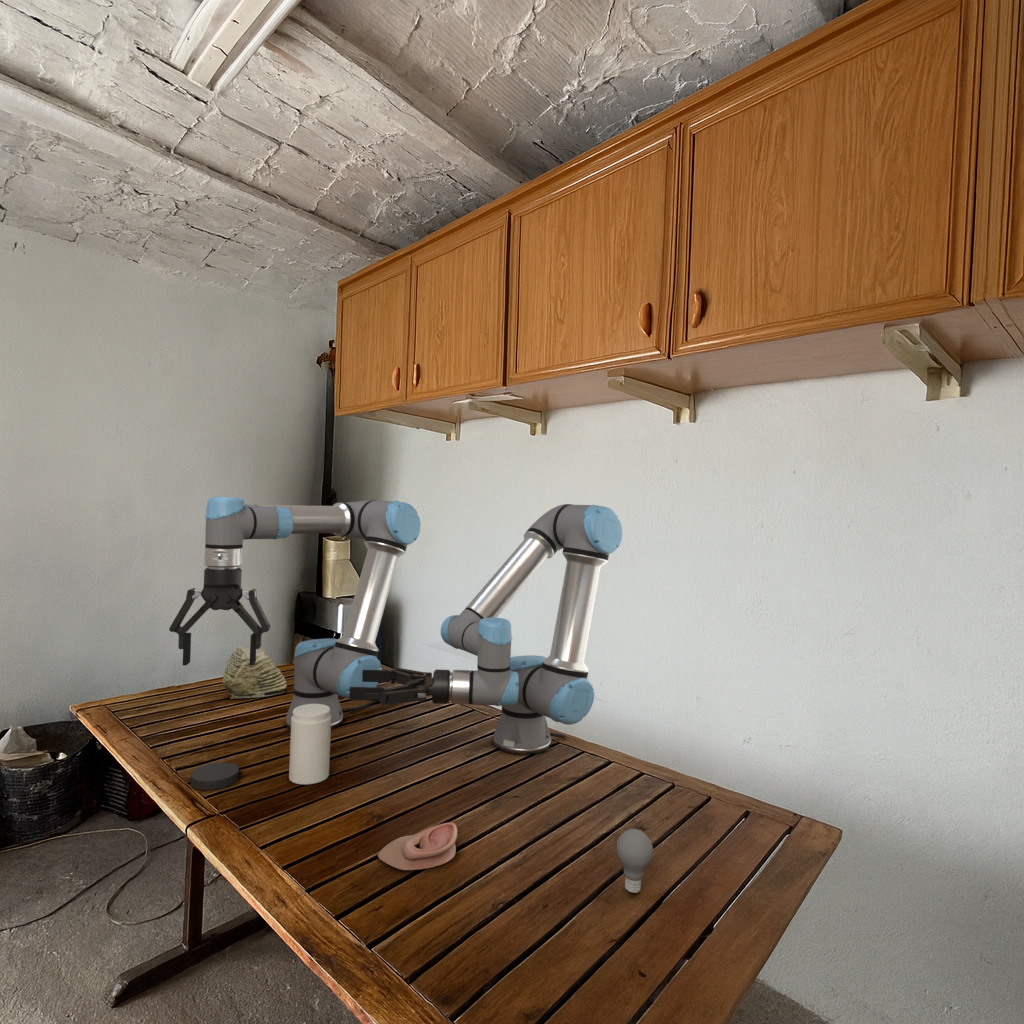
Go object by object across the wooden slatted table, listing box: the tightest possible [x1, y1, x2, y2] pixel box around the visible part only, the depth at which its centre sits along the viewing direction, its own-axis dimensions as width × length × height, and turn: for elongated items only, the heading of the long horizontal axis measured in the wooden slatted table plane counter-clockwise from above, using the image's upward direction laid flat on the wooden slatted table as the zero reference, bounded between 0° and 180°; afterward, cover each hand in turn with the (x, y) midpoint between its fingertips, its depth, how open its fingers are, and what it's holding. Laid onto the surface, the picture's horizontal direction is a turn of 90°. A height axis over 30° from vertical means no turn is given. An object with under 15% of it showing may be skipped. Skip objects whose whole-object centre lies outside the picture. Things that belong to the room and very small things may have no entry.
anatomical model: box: [377, 822, 458, 871], centre depth 114 cm, size 13×4×12 cm
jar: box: [288, 704, 332, 785], centre depth 143 cm, size 9×9×15 cm
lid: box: [189, 762, 240, 791], centre depth 139 cm, size 10×10×2 cm
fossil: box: [222, 646, 288, 699], centre depth 198 cm, size 9×18×15 cm, turn 132°
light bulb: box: [615, 828, 654, 894], centre depth 106 cm, size 6×6×10 cm
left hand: (219, 663), depth 139 cm, fingers open, 13 cm apart
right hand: (356, 684), depth 143 cm, fingers open, 13 cm apart
